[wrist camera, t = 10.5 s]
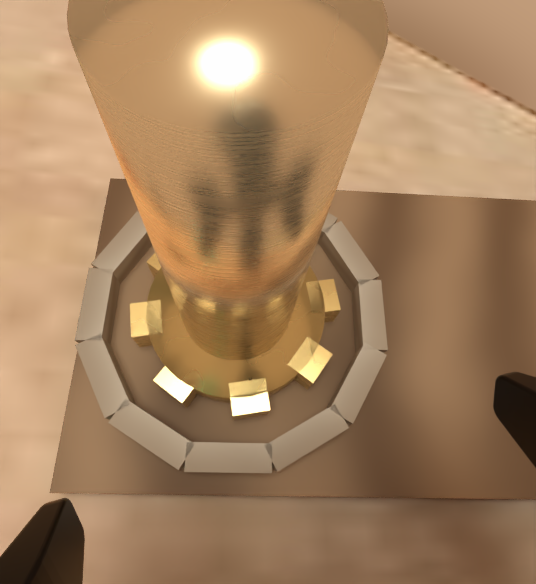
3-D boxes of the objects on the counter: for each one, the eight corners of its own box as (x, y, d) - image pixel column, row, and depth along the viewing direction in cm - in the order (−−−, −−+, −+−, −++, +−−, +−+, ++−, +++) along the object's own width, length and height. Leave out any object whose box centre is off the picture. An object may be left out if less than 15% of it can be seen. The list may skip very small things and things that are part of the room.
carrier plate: (598, 215, 23) (633, 191, 21) (693, 499, 18) (752, 504, 16) (116, 190, 22) (103, 162, 19) (60, 490, 16) (34, 495, 14)
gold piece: (311, 226, 20) (427, -151, 8) (351, 401, 17) (645, 239, 5) (134, 244, 19) (-56, -153, 7) (143, 434, 16) (-173, 338, 4)
